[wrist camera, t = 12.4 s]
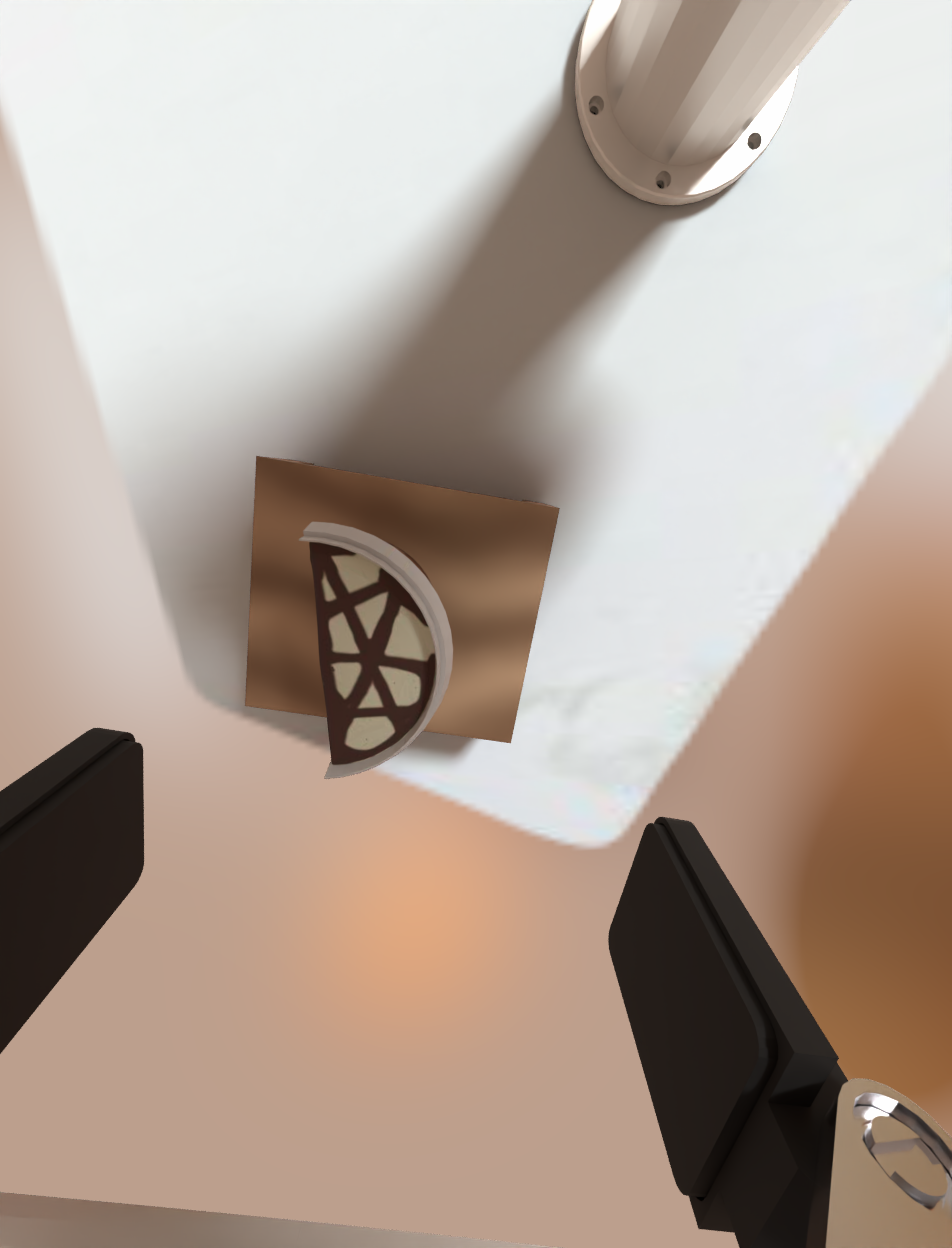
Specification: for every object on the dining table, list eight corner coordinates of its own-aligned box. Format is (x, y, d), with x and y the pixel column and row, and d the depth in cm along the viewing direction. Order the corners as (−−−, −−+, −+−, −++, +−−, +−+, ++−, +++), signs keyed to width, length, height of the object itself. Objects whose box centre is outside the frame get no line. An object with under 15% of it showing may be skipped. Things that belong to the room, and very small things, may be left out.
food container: (458, 698, 34) (455, 786, 24) (365, 699, 33) (325, 788, 24) (454, 509, 30) (448, 524, 21) (351, 510, 30) (297, 525, 20)
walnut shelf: (291, 459, 35) (256, 456, 29) (544, 503, 36) (559, 508, 30) (277, 672, 39) (245, 705, 33) (504, 705, 40) (510, 743, 35)
